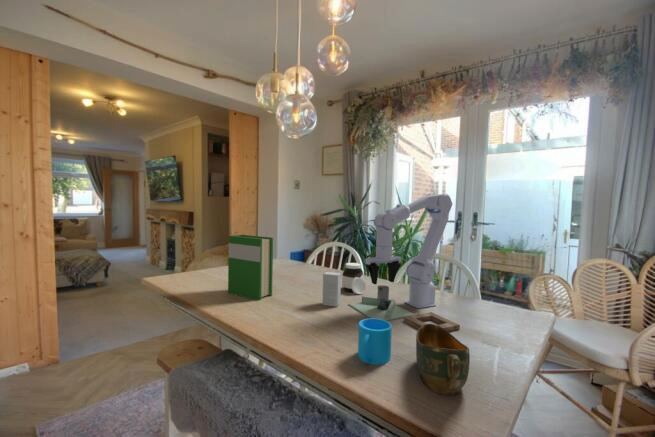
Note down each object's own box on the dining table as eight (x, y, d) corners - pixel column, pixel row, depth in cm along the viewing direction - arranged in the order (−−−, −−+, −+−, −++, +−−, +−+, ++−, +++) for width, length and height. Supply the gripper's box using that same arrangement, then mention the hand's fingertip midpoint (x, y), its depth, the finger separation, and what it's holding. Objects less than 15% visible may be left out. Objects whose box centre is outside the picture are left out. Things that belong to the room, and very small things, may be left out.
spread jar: (351, 286, 144) (351, 261, 143) (372, 290, 137) (373, 264, 136) (336, 291, 134) (337, 265, 133) (359, 296, 127) (360, 268, 127)
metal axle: (387, 306, 113) (387, 285, 113) (389, 310, 109) (389, 288, 109) (376, 306, 113) (377, 285, 113) (377, 310, 109) (378, 288, 109)
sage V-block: (382, 300, 123) (383, 292, 123) (415, 315, 106) (415, 307, 106) (348, 304, 116) (348, 296, 116) (376, 322, 99) (377, 313, 99)
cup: (393, 389, 63) (395, 341, 62) (422, 353, 79) (424, 314, 79) (460, 415, 56) (463, 360, 55) (476, 369, 72) (479, 327, 72)
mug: (365, 345, 82) (366, 316, 82) (395, 354, 78) (396, 322, 78) (345, 365, 72) (346, 331, 72) (377, 375, 68) (378, 339, 67)
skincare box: (340, 303, 117) (341, 273, 116) (337, 307, 113) (338, 275, 112) (325, 301, 119) (326, 271, 118) (321, 305, 115) (322, 273, 114)
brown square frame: (431, 316, 106) (431, 312, 106) (459, 329, 95) (459, 324, 95) (403, 321, 101) (404, 316, 101) (430, 335, 90) (430, 330, 90)
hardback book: (272, 295, 125) (273, 237, 124) (259, 300, 119) (260, 239, 118) (241, 288, 134) (242, 234, 133) (228, 292, 128) (228, 235, 127)
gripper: (393, 243, 118) (392, 278, 118) (361, 245, 111) (360, 281, 112) (405, 246, 111) (404, 282, 112) (372, 247, 105) (371, 286, 106)
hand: (382, 282), depth 112 cm, fingers open, 7 cm apart
